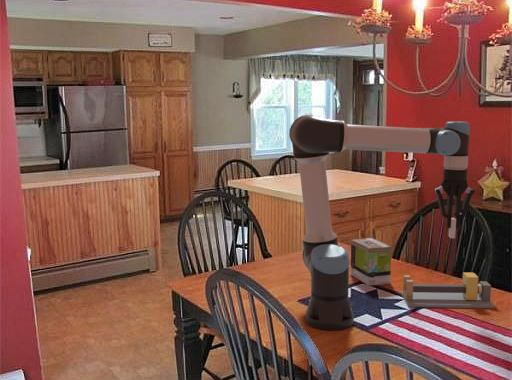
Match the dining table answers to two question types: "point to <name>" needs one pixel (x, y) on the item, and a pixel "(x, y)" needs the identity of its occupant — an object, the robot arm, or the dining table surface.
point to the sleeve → (470, 286)
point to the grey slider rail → (444, 295)
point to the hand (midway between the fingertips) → (451, 237)
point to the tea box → (371, 261)
